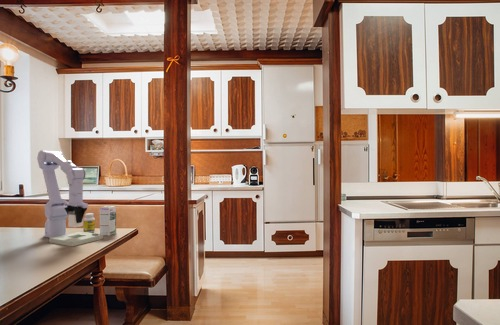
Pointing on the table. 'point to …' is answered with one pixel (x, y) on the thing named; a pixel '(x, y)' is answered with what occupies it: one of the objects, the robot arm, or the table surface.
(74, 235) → the socket block
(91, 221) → the supplement bottle
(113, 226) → the syrup box
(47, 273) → the table surface
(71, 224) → the plug
